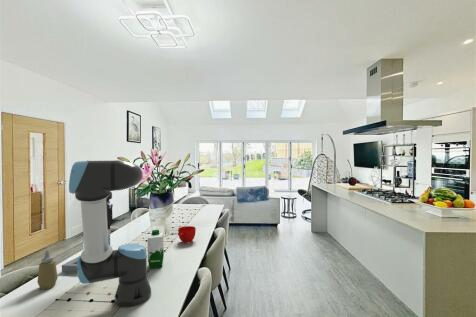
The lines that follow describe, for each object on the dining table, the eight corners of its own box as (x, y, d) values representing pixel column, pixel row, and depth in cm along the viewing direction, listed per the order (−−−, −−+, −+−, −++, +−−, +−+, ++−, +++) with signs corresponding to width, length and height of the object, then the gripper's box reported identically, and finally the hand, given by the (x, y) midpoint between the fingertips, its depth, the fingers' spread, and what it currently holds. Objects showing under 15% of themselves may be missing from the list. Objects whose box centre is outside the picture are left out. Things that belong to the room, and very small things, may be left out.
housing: (88, 273, 138) (88, 266, 138) (61, 272, 140) (61, 265, 140) (114, 256, 162) (114, 250, 162) (92, 255, 164) (92, 249, 164)
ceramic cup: (172, 245, 180) (172, 231, 180) (183, 238, 197) (182, 225, 197) (189, 247, 177) (188, 232, 177) (198, 239, 194) (198, 226, 194)
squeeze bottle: (55, 281, 130) (54, 246, 130) (60, 285, 125) (59, 249, 125) (35, 287, 124) (34, 251, 124) (39, 292, 119) (39, 254, 119)
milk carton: (163, 261, 152) (163, 228, 152) (163, 268, 143) (163, 233, 143) (148, 263, 150) (148, 230, 150) (147, 270, 141) (146, 234, 141)
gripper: (119, 192, 136) (120, 235, 136) (103, 190, 147) (104, 229, 147) (105, 194, 130) (105, 239, 130) (89, 191, 141) (90, 233, 141)
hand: (105, 234), depth 139 cm, fingers closed on cartridge, 5 cm apart
